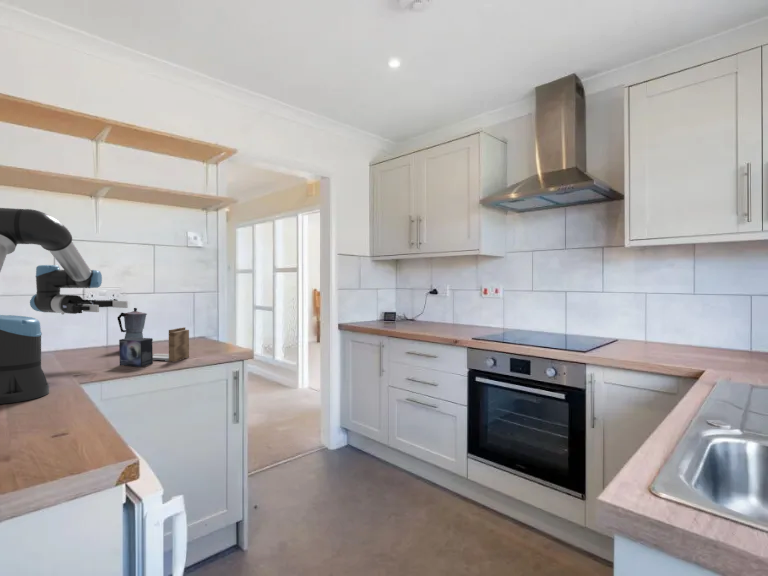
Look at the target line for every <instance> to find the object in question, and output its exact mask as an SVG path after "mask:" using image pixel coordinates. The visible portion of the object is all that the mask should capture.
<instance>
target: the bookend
mask: <svg viewBox="0 0 768 576" xmlns="http://www.w3.org/2000/svg"><path fill="white" fill-rule="evenodd" d="M186 357H188V358H190V330H189V329H186V327H184V326H183V327H179V328H174V329H173V328H171V329H168V353H154V354H153V360H165V361H164V362H171V361H173V363H174V362H178V361H181V360H184V359H183V358H185V359H187V358H186ZM180 359H181V360H180ZM177 360H178V361H177Z"/></svg>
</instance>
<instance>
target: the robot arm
mask: <svg viewBox="0 0 768 576" xmlns="http://www.w3.org/2000/svg"><path fill="white" fill-rule="evenodd" d="M18 245H37V246H41V247H42V248H43V249H44V250H46V251H48V252H50V254H51V255H52V257H54V259H55V260H56V262H58V264H59V265H60V266H61V268H62V269H61V268H60V266H59V265H57V264H56V265H54V264H40V265H37V266H36V267H35V268H36V269H35V283H36V285H35V286H36V294H33V295H32V296H31V297H30V298H31V299H30V300H29V305H30V308H31V309H32V310H34V311H36V312H41V313H51V314H52V313H56V314H58V313H59V314H60V313H61V315H65V314H69V315H70V314H72V315H74V314H75V315H76V314H82V313H83V312H88V313H90V312H91V313H99V312H100V308H107V307H108V308H119V309H121V308H122V309H128V301H127V300H118V299H116V298H113V299H110V300H109V299H108V300H105V299H103V300H102V299H101V300H99V299H97V300H96V299H83V298H82V297H81V296H80V295H75V294H73V295H72V294H62V293H61V289H72V288H73V289H96V288H101V286H102V283H103V276H102V272H101V270H96V269H91V268H90V267H89V265H88V264H87V263H86V261H85V259H84V258H83V256H82V255H81V253H80V252H79V250H78V249H77V247H76V246H75V244H74V242H73V236H72V233H71V232H70V230H69V229H68V228H67V227H66V226H65V224H63V223H62V222H61V221H59V220H58V219H56V218H55V217H53V216H51V215H49V214H47V213H46V212H43V211H40V210H36V209H31V208H9V207H0V272H2V268H3V266H4V262H5V260H6V258H7V255H10V254H12V253H14V252H15V250H16V248H17V246H18ZM41 328H42V327H41V322H40V320H39V319H37V318H35V317H31V316H24V315H23V316H22V315H13V314H8V315H6V314H0V405H2V404H3V405H4V404H12V403H19V402H25V401H31V400H35V399H38V398H42V397H45V396H46V395H48V394H49V393H50V383H49V382H48V381H47V378H46V376H45V375H46V374H45V373H44V371H43V369H42V368H43V367H42V335H43V333H42V330H41Z"/></svg>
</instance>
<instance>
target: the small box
mask: <svg viewBox="0 0 768 576" xmlns="http://www.w3.org/2000/svg"><path fill="white" fill-rule="evenodd" d="M118 344H119V345H118V347H119V349H118V350H119V351H118V353H119V366H121V365H124V366H125V367H135V368H136V367H137V368H142V367H146V366H151V365H153V364H154V361H153V338H152V337H151V338H150V337H143V338H136V337H131V338H126V339H124V338H121V339H119V340H118Z"/></svg>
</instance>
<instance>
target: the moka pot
mask: <svg viewBox="0 0 768 576" xmlns="http://www.w3.org/2000/svg"><path fill="white" fill-rule="evenodd" d="M147 315H148V313H146V312H141V311H138V307H134V308H133V310H132V311H128V312H121V313H120V314H119V315H118V316H117V322H118V326H119V329H120V330H119V331H120V332H121V333H125V335H124V338H123V339H126V338H131V337H136V338H144V336H143V335H144V334H143V331H144V329H145V324H146V319H147V318H146V317H147ZM121 317H123V321H124V322H123V323H124V328H125V329H124V328H123V325H122V319H121Z"/></svg>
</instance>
